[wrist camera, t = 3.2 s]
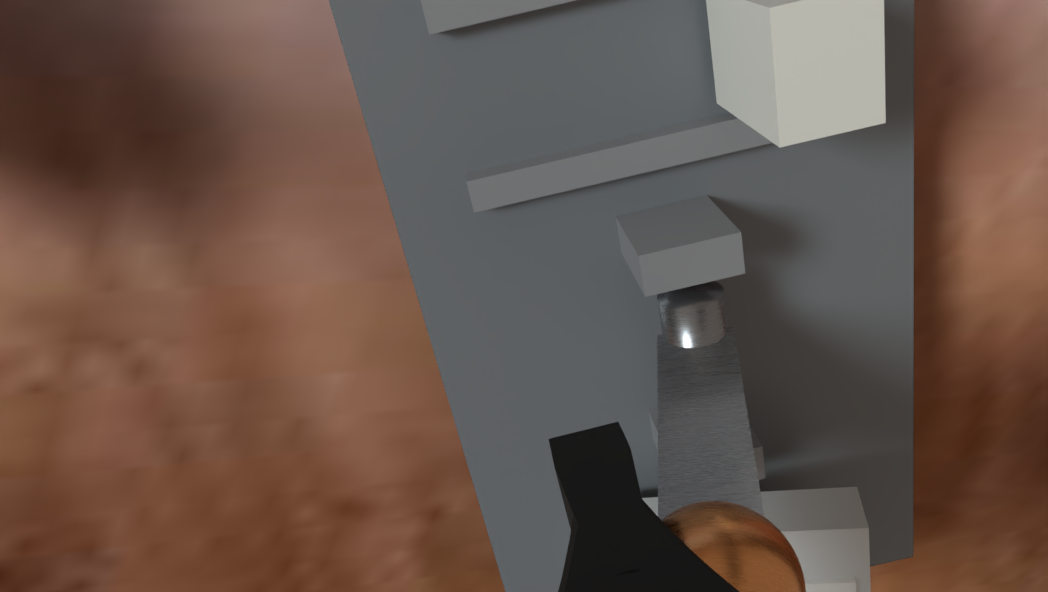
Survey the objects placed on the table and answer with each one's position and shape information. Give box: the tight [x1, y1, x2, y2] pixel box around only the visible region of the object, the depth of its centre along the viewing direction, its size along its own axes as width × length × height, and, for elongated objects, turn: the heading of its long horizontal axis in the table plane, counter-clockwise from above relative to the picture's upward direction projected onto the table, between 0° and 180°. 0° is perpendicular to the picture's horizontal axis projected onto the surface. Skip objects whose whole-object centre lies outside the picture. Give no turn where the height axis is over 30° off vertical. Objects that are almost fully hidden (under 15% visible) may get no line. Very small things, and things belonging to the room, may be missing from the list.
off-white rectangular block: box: [706, 0, 886, 148], centre depth 13 cm, size 2×2×3 cm
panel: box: [329, 0, 914, 592], centre depth 17 cm, size 17×10×4 cm, turn 12°
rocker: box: [642, 487, 871, 592], centre depth 18 cm, size 4×6×1 cm, turn 102°
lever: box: [657, 281, 806, 592], centre depth 13 cm, size 3×2×7 cm
